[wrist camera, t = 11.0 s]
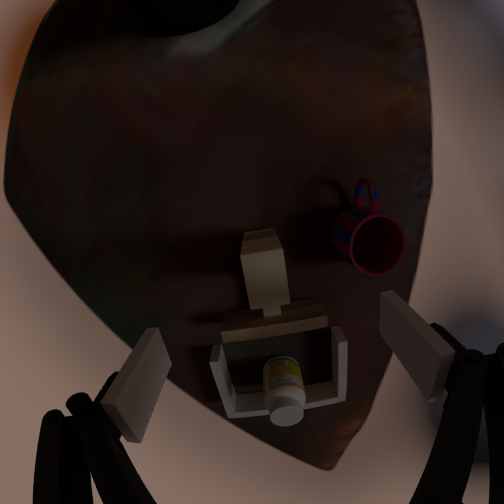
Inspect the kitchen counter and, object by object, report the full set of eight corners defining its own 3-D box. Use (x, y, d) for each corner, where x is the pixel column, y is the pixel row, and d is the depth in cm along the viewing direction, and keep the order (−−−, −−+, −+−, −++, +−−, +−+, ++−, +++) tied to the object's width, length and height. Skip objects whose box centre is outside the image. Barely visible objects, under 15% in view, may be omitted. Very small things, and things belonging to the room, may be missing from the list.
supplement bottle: (276, 348, 36) (282, 396, 27) (306, 363, 37) (318, 410, 28) (255, 373, 38) (255, 421, 28) (284, 386, 38) (290, 433, 29)
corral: (213, 345, 36) (209, 362, 32) (339, 325, 36) (347, 340, 32) (230, 400, 39) (228, 418, 35) (339, 383, 38) (345, 400, 34)
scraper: (208, 238, 33) (190, 263, 23) (309, 221, 32) (332, 240, 22) (227, 322, 35) (219, 369, 26) (318, 307, 35) (338, 351, 25)
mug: (329, 259, 33) (346, 278, 27) (332, 177, 31) (351, 177, 24) (377, 258, 33) (401, 276, 27) (382, 180, 31) (410, 182, 24)
